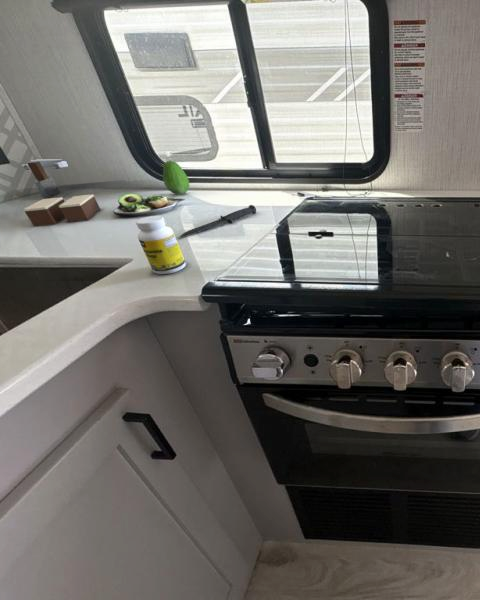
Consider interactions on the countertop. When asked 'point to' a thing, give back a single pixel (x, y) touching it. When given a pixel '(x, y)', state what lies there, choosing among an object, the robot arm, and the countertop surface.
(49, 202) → the cake
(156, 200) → the salad plate
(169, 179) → the avocado
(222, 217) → the knife
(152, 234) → the pill bottle
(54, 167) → the robot arm
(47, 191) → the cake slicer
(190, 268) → the countertop surface
